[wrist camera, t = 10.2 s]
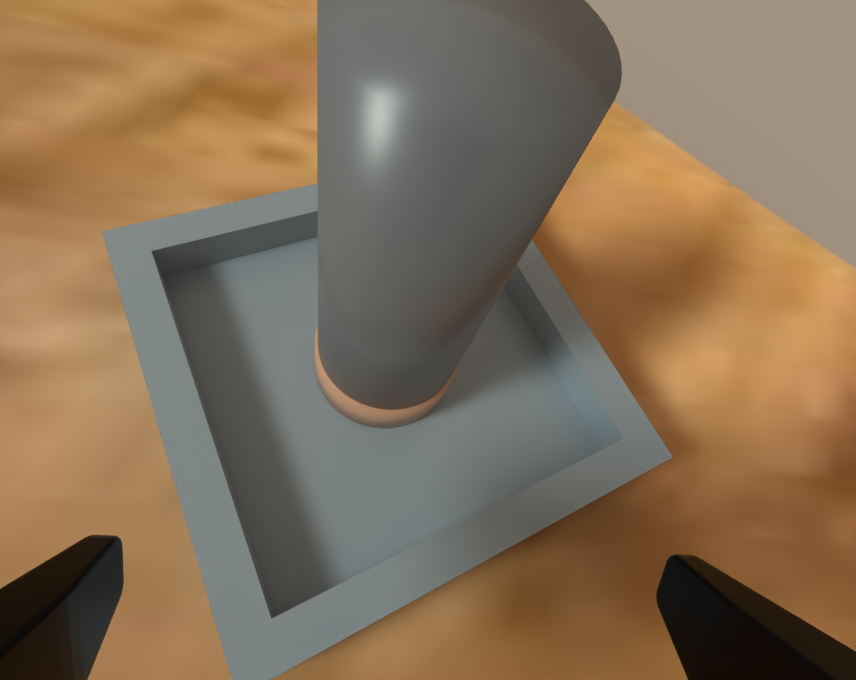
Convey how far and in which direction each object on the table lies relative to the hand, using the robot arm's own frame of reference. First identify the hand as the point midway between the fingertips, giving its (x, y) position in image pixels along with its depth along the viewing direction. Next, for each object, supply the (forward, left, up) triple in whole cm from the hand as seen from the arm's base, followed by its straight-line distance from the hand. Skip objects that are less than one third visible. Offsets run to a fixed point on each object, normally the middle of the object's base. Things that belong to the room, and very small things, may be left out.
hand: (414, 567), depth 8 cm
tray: (+6, -3, -8) cm, 11 cm away
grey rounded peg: (+6, -3, -7) cm, 10 cm away
